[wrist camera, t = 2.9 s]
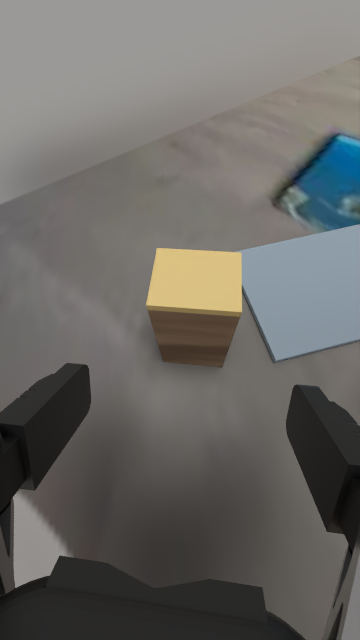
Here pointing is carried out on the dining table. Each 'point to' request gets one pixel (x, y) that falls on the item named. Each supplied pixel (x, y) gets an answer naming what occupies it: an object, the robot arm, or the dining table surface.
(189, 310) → the wooden block
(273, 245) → the slate mat
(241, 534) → the dining table surface
